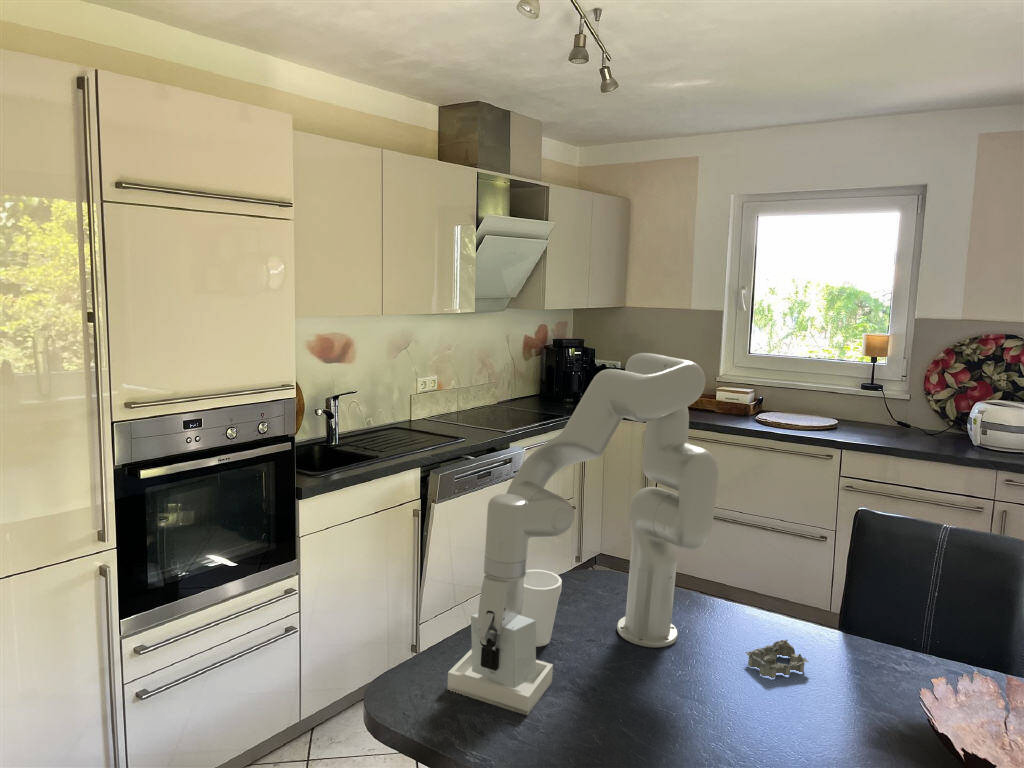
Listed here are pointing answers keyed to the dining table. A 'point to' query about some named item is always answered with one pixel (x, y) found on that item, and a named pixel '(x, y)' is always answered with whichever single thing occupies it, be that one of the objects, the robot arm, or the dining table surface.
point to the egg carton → (769, 659)
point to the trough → (499, 686)
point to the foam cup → (541, 602)
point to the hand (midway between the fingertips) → (499, 656)
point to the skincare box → (509, 652)
